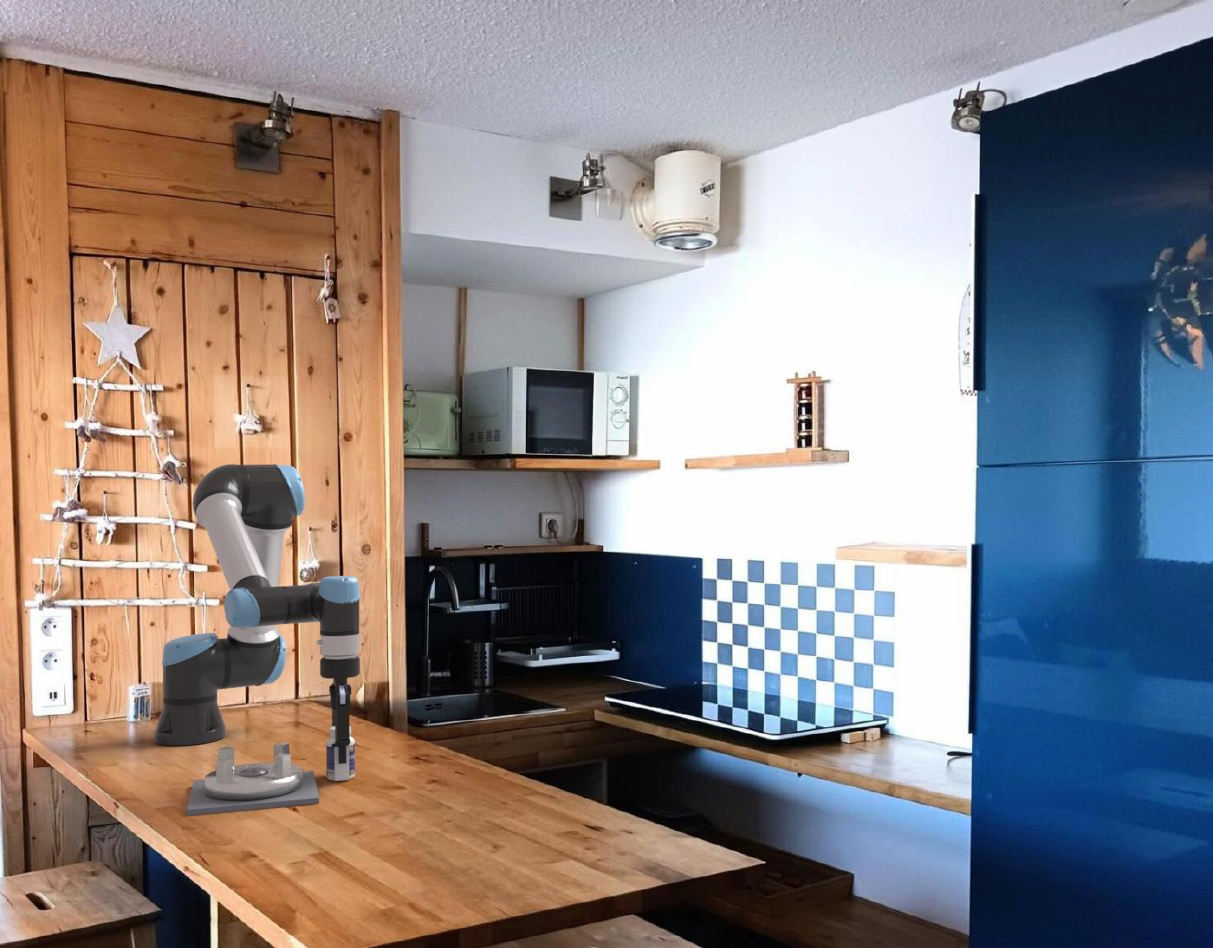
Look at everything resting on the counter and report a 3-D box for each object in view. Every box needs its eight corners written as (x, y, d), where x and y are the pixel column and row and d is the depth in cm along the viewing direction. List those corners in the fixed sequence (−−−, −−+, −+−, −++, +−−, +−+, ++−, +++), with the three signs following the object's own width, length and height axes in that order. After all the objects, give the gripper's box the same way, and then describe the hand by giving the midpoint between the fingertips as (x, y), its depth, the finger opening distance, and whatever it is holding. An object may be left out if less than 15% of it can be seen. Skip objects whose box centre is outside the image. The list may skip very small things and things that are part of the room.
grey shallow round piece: (184, 793, 198) (184, 757, 198) (254, 772, 213) (254, 738, 213) (253, 804, 190) (253, 766, 190) (321, 781, 205) (321, 746, 205)
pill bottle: (347, 781, 210) (347, 730, 210) (321, 780, 211) (321, 729, 211) (359, 774, 215) (359, 724, 215) (334, 773, 216) (333, 724, 217)
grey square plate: (193, 786, 208) (193, 779, 208) (313, 775, 215) (313, 769, 215) (186, 815, 188) (186, 808, 188) (319, 803, 195) (319, 796, 195)
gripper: (317, 651, 221) (318, 767, 221) (322, 663, 204) (323, 789, 203) (355, 649, 224) (356, 764, 223) (364, 661, 206) (365, 785, 205)
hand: (340, 775), depth 213 cm, fingers closed on pill bottle, 5 cm apart
